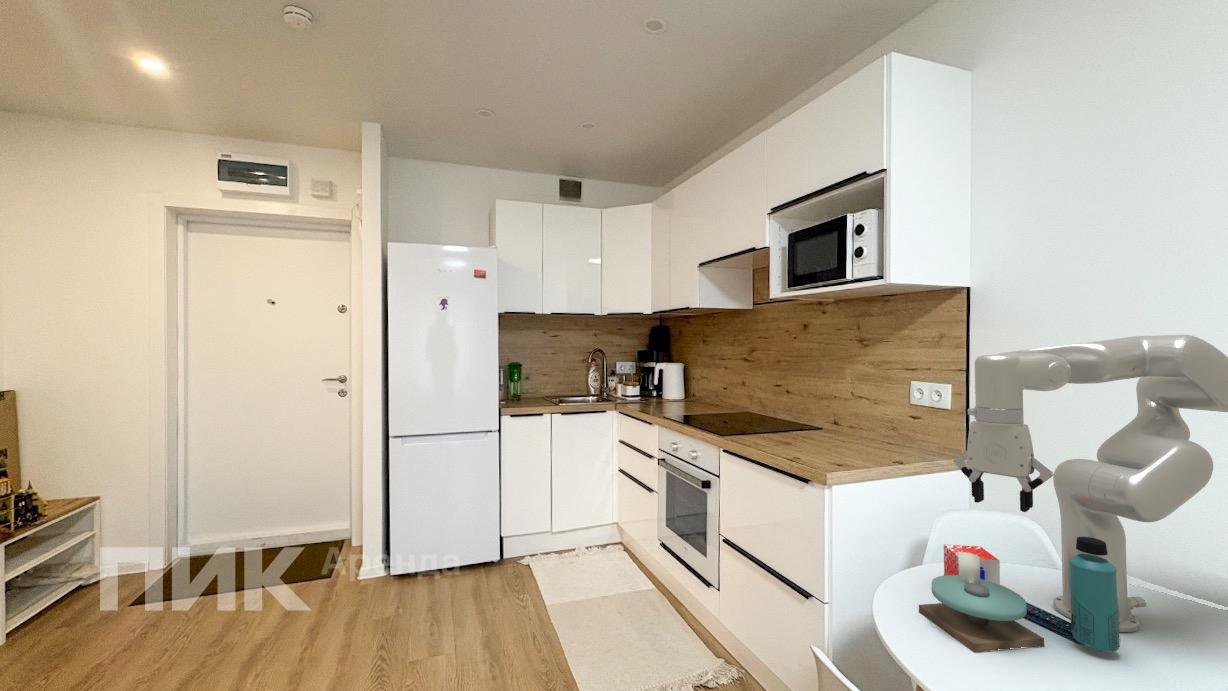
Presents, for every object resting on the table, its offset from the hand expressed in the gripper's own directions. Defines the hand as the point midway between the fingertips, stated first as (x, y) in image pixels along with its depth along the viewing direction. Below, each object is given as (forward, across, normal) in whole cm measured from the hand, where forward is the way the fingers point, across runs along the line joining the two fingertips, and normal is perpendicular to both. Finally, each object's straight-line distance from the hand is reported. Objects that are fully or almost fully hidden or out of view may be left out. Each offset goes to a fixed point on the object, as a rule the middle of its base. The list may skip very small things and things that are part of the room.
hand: (1001, 505), depth 98 cm
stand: (+24, -3, -6) cm, 24 cm away
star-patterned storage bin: (+24, -10, +14) cm, 29 cm away
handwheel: (+18, -3, -6) cm, 19 cm away
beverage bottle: (+24, +13, +3) cm, 27 cm away
